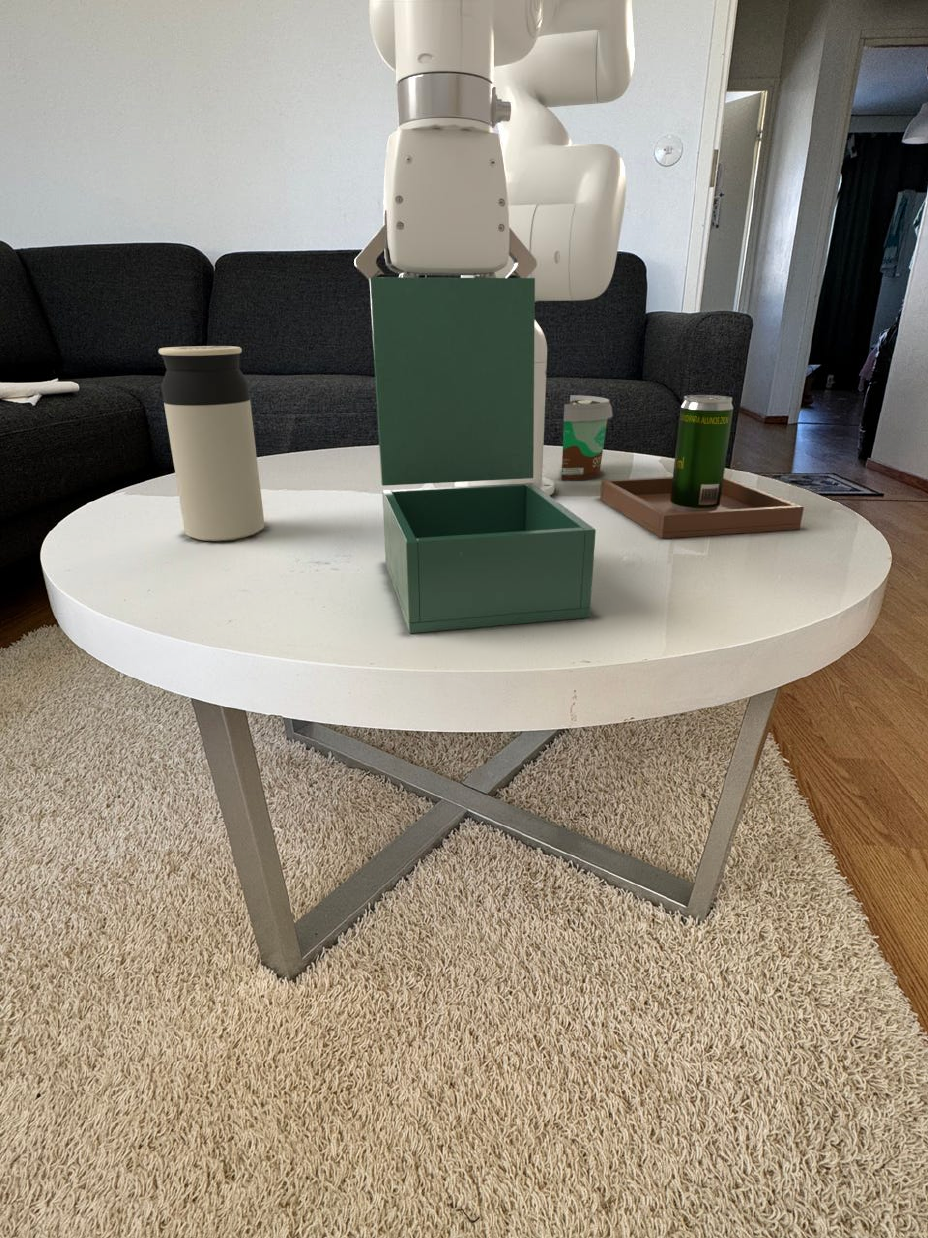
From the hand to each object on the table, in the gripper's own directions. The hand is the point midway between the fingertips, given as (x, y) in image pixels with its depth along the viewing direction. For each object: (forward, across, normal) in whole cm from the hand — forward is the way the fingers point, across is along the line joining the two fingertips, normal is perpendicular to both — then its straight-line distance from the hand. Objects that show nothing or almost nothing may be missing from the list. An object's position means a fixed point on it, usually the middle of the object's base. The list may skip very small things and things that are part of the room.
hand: (448, 356), depth 64 cm
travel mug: (+18, +22, -10) cm, 30 cm away
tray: (+17, -29, -6) cm, 34 cm away
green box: (+17, 0, +12) cm, 21 cm away
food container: (+17, -25, -29) cm, 42 cm away
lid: (+2, 0, +4) cm, 4 cm away
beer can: (+17, -29, -6) cm, 34 cm away
